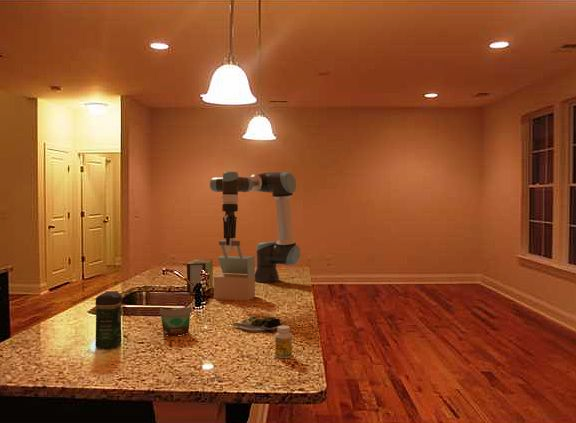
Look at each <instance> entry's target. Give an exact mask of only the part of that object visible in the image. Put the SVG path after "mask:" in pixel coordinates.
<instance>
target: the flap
mask: <svg viewBox="0 0 576 423" xmlns="http://www.w3.org/2000/svg"><path fill="white" fill-rule="evenodd" d="M218 245H219V246H220V247H221V250H222V253H223V255H218V257H217V258H218V262H219V266H220V269H221V272H222V273H225V274H247V258H248V257H249V256H243V255H242V251H241V247H240V245H241V241H240V240H234V241H231V246H234V247H236V249H237V252H238V256H236V255H233V256H232V255H228V254H227V252H225V251H226V239H225V240H223V239H220V240H219V241H218Z"/></svg>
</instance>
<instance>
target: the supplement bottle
mask: <svg viewBox="0 0 576 423" xmlns="http://www.w3.org/2000/svg"><path fill="white" fill-rule="evenodd" d="M290 329H291V328H290V326H289V325H282V326H278V327H277V331H276V333H275V335H274V337H275V339H274V340H275V342H274V343H275V344H274V346H275V347H274V351H275V354H274V355H275V357H276V358H277V357H278V359H281V358H285V359H290V358H291V357H292V356H293V338H292V337H293V335H292V333H291V332H290Z"/></svg>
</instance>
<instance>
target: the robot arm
mask: <svg viewBox="0 0 576 423" xmlns="http://www.w3.org/2000/svg"><path fill="white" fill-rule="evenodd" d="M209 187H210V188H209V189H211V191H212V192H214V193H215V192H216V193H222V196H221V199H222V206H221V207H222V210H221V211H222V212H225V214H224V216H223V217H222V220H223V221H222V222H223V239H225V240H226V245H225V250H226V251H225V252H226V253H233V252H234V251H235V246H231V241H235V239H236V238H237V236H236V234H237V232H236V231H237V220H238V219H237V218H238V217H237V216H236V215H235V214H236V212H237V213H238V211H239V205H238V203H239V193H248V192H249V193H250V192H251V191H252V192H261V193H270V194H272V195H271V196H272V198H274V200H275V212H276V225H277V226H276V227H277V241H266V242H260V243H258V244H257V245H256V268H255V283H256V282H257V283H276V282H279V281H280V275H279V273H278V269H277V265H285V266H294V265H296V264H297V263H298V261H299V260H300V256H301V248H300V246H299V245H297V241H296V240H295V239H294V236H293V222H292V220H293V219H292V206H291V205H292V204H291V202H292V201H291V198H292V197H293V195H294V192H296V190H297V181H296V178H295V176H294V175H293V173H291V172H287V171H286V172H285V171H280V172H279V171H277V172H264V173H259V174H258V173H257V174H251V175H250V176H239V172H237V171H224V172H223V173H222V176H221V177H219V176H217V177H212V178H211V179H210V182H209Z"/></svg>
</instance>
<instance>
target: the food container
mask: <svg viewBox="0 0 576 423" xmlns="http://www.w3.org/2000/svg"><path fill="white" fill-rule="evenodd" d="M158 313H159V315H160V316H161V324H162V325H161V326H162V334H163V335H164V336H166V335H168V336H167V337H173V336H175V337H179V336H178V335H183V334H186V333H188V334H189V330H190V321H191V320H190V319H191V313H193V309H192V306H191V304H190V305H189V307H173V308H169V309H166V308H165V309H164V308H162V307H160V309H159V312H158ZM186 335H187V334H186ZM183 336H184V335H183Z"/></svg>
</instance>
